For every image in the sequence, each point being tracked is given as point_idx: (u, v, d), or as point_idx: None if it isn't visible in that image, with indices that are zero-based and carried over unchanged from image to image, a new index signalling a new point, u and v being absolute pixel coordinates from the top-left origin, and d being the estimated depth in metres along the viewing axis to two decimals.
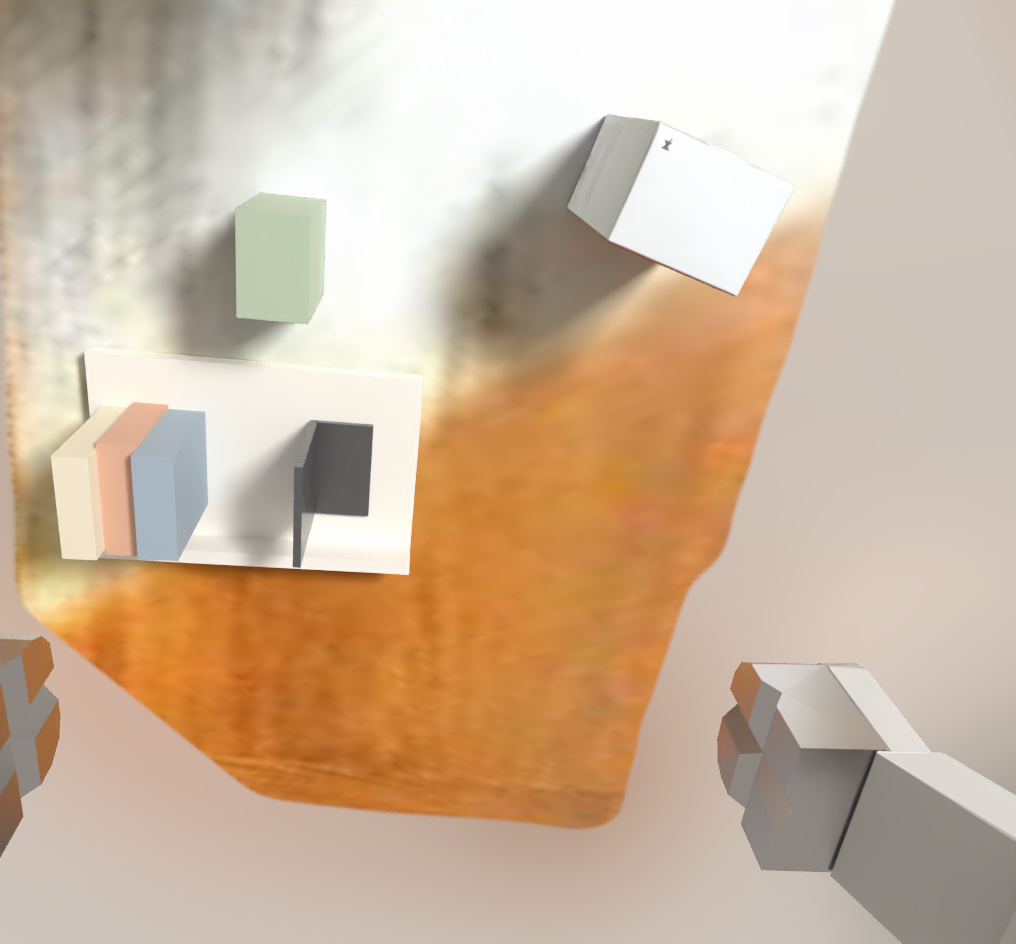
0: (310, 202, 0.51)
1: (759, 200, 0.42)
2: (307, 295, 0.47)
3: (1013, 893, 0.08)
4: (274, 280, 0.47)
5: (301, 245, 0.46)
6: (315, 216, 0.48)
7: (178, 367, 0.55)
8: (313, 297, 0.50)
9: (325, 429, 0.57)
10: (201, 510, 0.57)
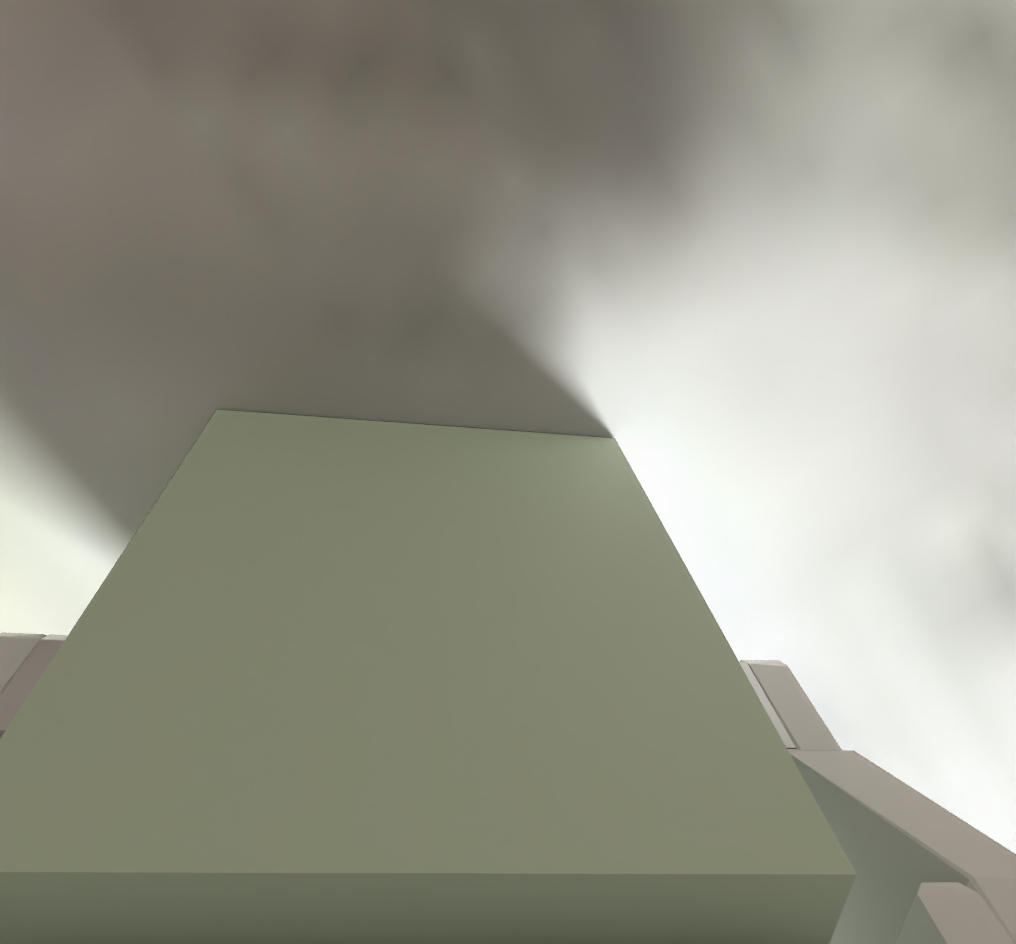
0: None
1: None
2: None
3: (913, 893, 0.08)
4: None
5: None
6: None
7: None
8: None
9: None
10: None
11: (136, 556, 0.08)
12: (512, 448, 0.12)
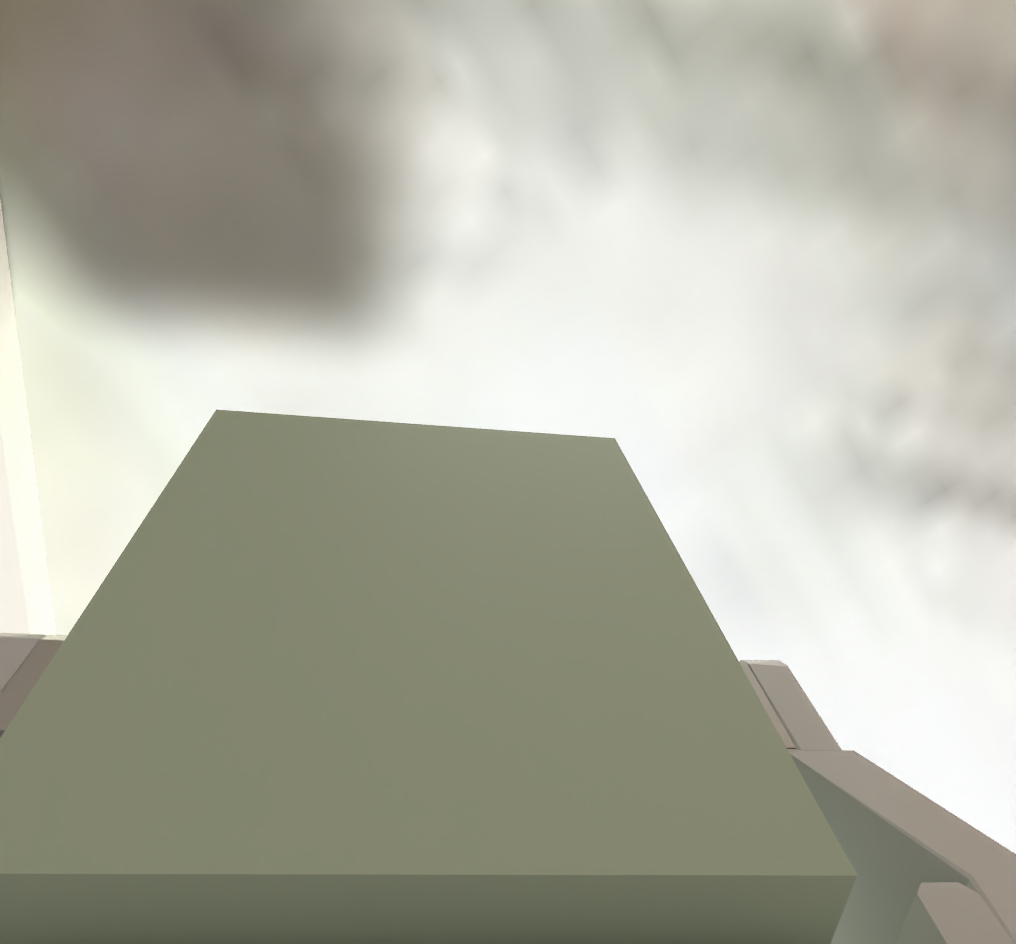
0: None
1: None
2: None
3: (913, 894, 0.08)
4: None
5: None
6: None
7: None
8: None
9: None
10: None
11: (135, 558, 0.08)
12: (513, 448, 0.12)
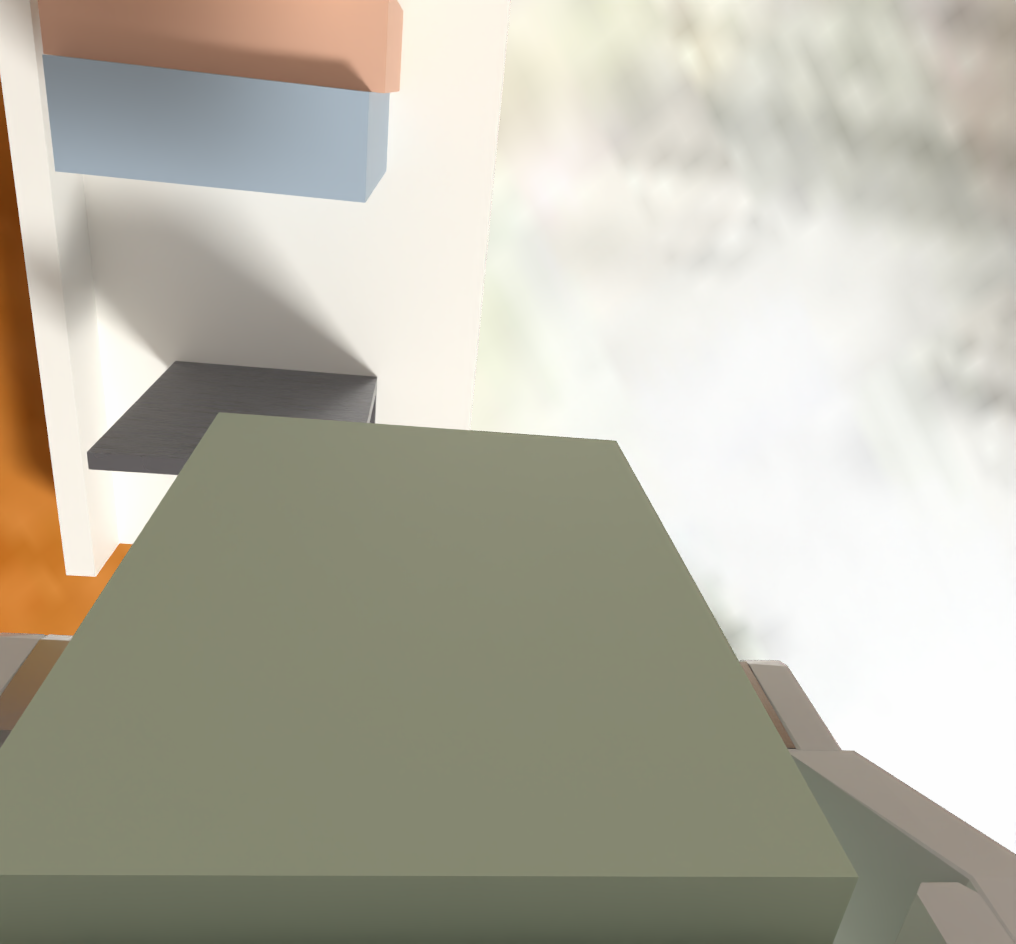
0: None
1: None
2: None
3: (913, 893, 0.08)
4: None
5: None
6: None
7: (482, 127, 0.27)
8: None
9: None
10: None
11: (138, 560, 0.08)
12: (514, 451, 0.12)
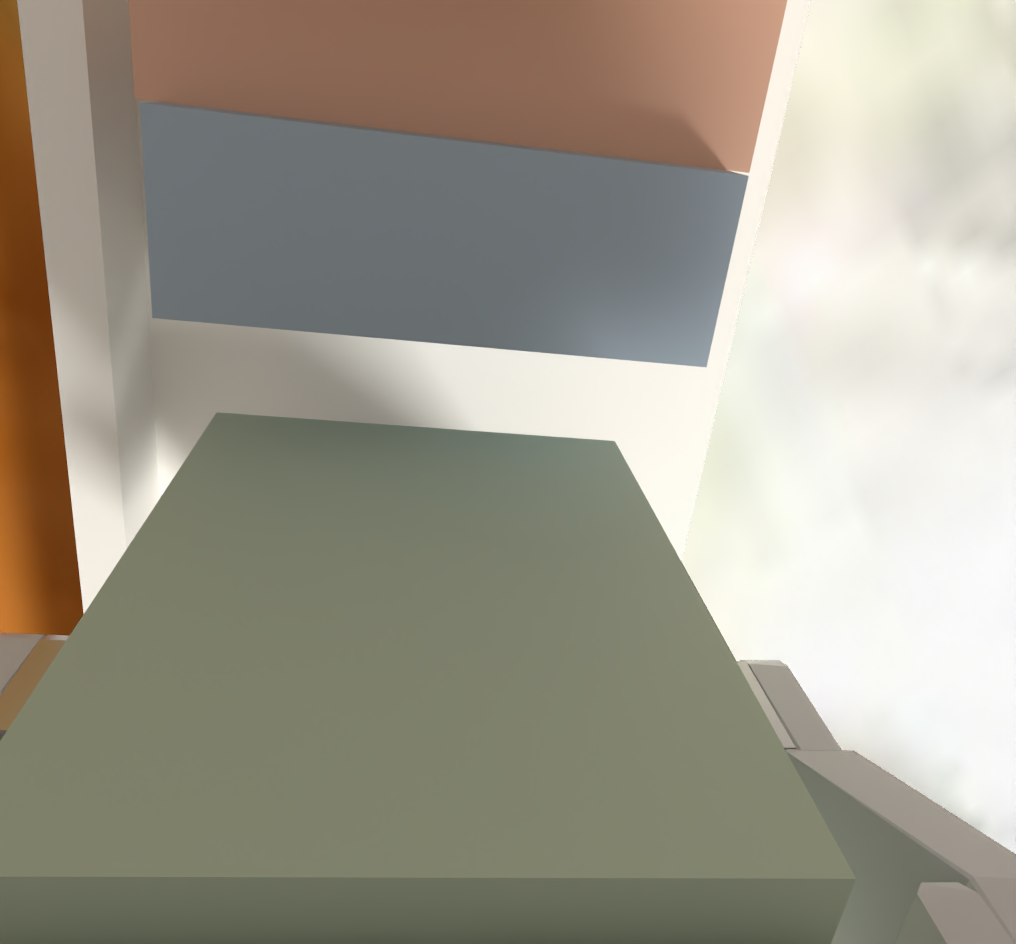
0: None
1: None
2: None
3: (913, 893, 0.08)
4: None
5: None
6: None
7: None
8: None
9: None
10: None
11: (136, 560, 0.08)
12: (512, 451, 0.12)
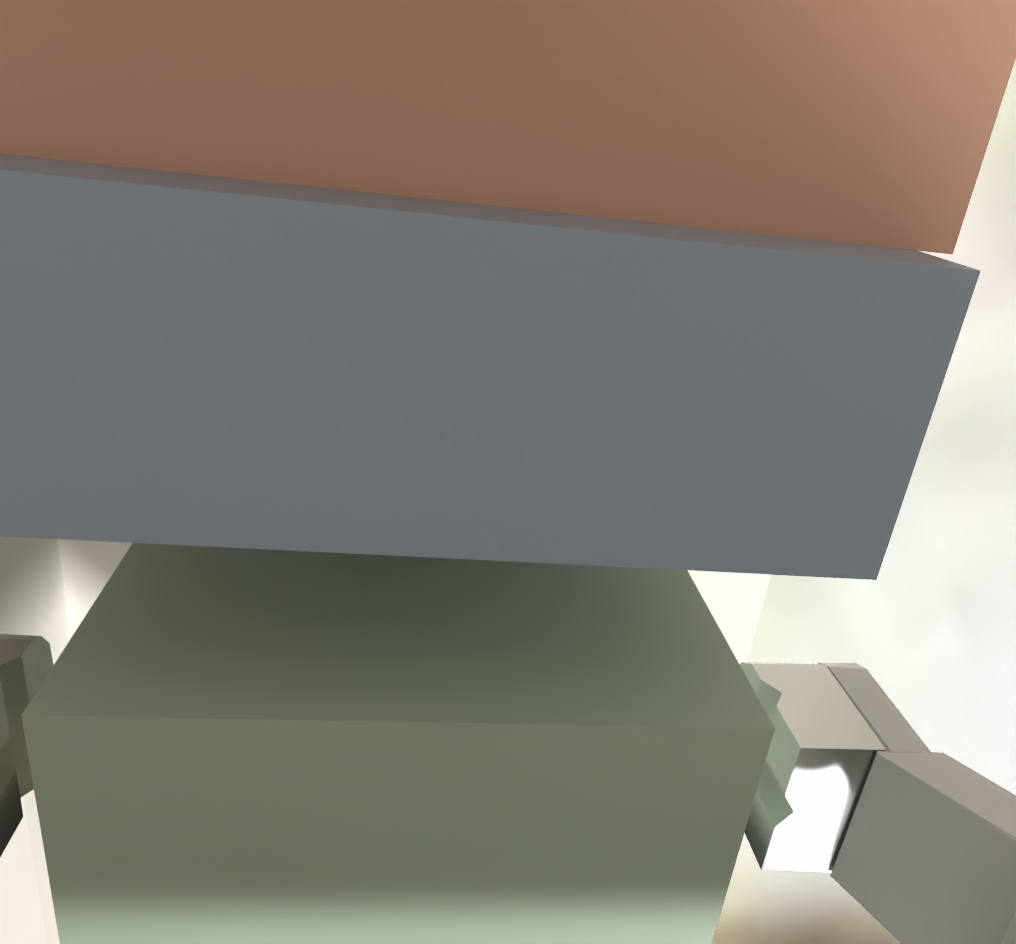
0: None
1: None
2: None
3: (1013, 893, 0.08)
4: (327, 904, 0.07)
5: None
6: None
7: None
8: None
9: None
10: None
11: None
12: None
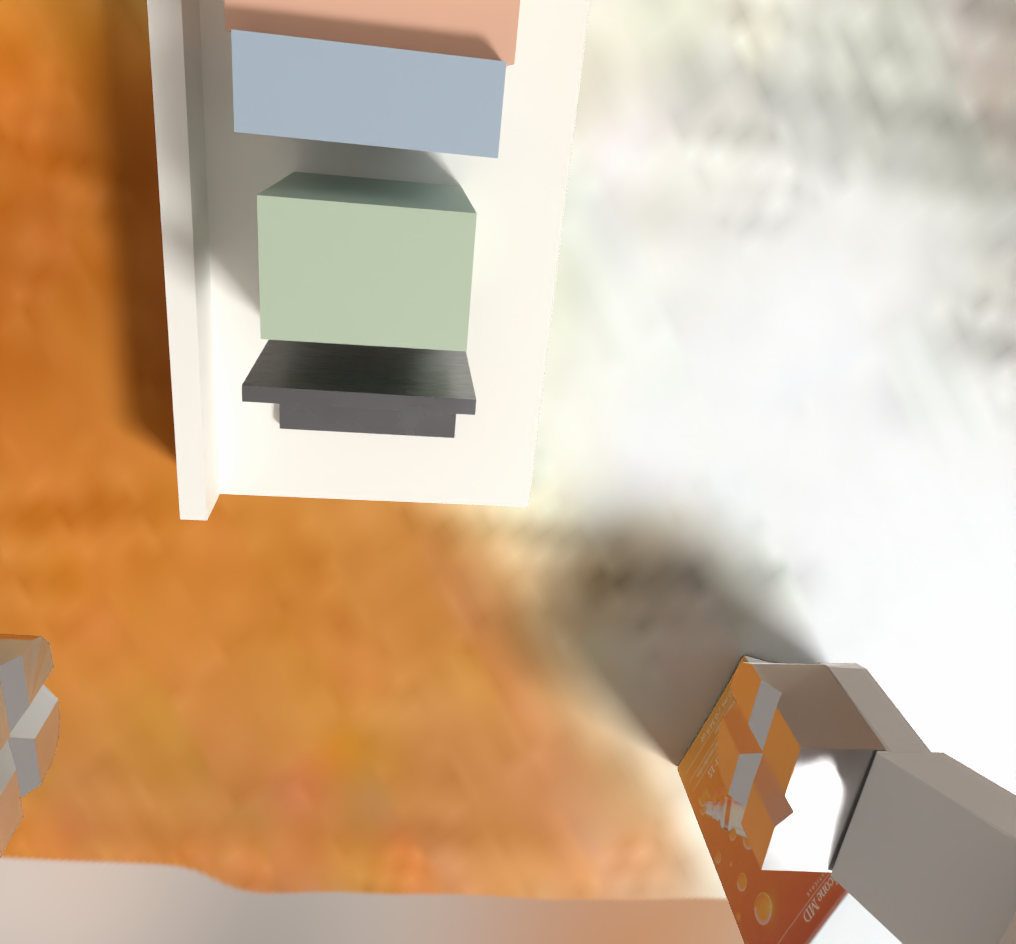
0: None
1: None
2: (318, 340, 0.24)
3: (1013, 893, 0.08)
4: (342, 278, 0.24)
5: (413, 333, 0.25)
6: None
7: (563, 103, 0.30)
8: None
9: None
10: None
11: (281, 182, 0.26)
12: (415, 184, 0.30)
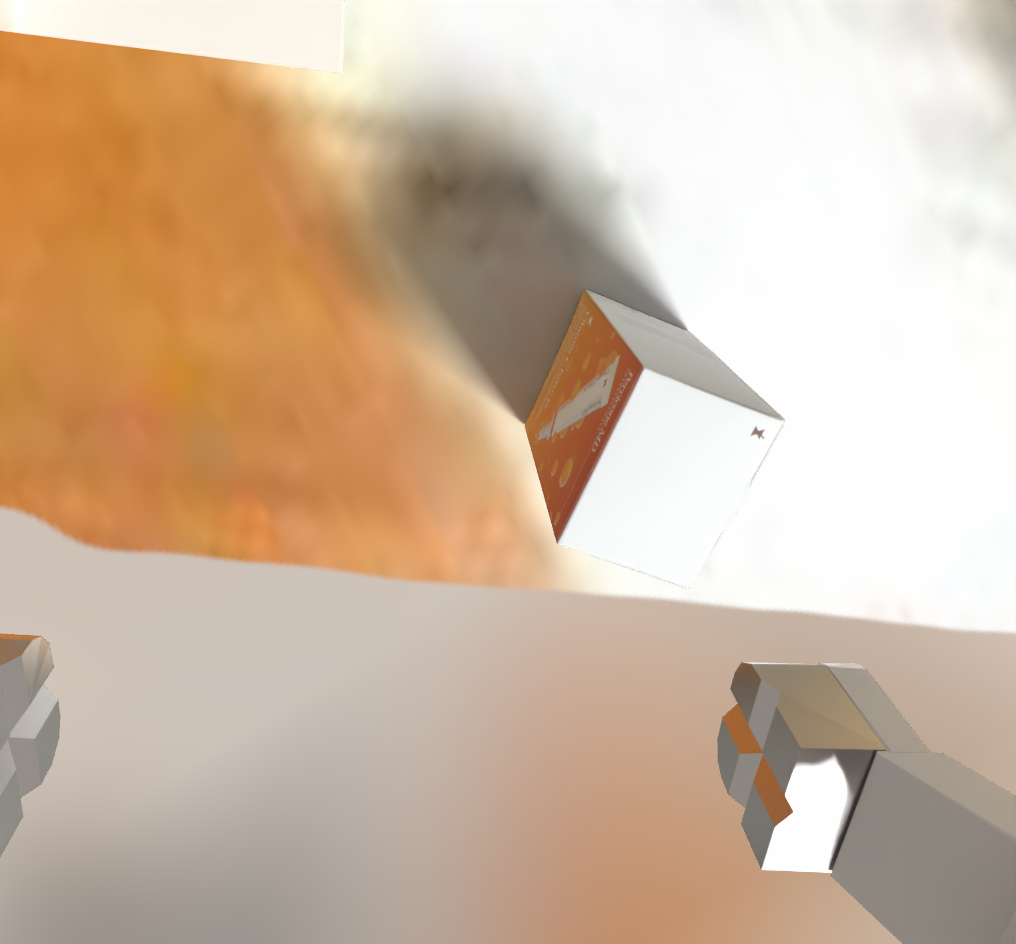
0: None
1: (678, 551, 0.33)
2: None
3: (1013, 893, 0.08)
4: None
5: None
6: None
7: None
8: None
9: None
10: None
11: None
12: None
